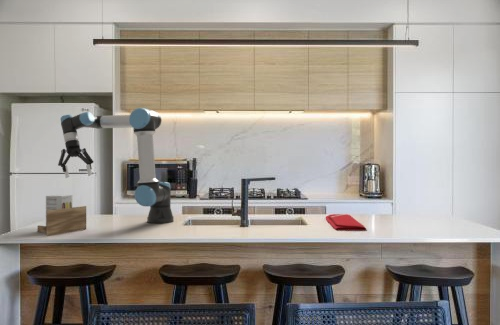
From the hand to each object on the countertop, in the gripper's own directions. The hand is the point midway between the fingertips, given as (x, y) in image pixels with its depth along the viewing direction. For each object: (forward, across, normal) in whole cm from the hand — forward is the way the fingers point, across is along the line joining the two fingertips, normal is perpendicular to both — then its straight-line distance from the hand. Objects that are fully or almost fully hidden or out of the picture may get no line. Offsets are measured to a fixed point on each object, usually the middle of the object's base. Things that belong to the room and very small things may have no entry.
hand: (79, 176), depth 245 cm
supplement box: (+28, +21, +8) cm, 36 cm away
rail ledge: (+30, +22, +10) cm, 39 cm away
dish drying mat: (+66, -90, +105) cm, 153 cm away
